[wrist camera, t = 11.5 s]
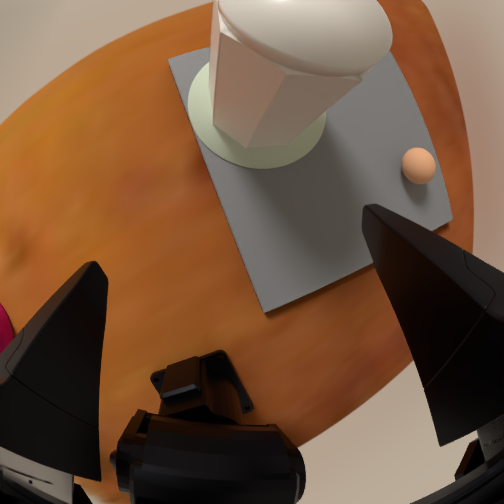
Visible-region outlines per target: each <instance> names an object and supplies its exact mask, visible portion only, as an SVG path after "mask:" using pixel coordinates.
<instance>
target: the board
mask: <svg viewBox="0 0 504 504" xmlns="http://www.w3.org/2000/svg"><path fill="white" fill-rule="evenodd" d="M209 61H210V47H207V48H203V49H200V50H196V51H193V52H189V53H186V54H183V55H180V56H177V57H174V58H171V59H168V63H169V67H170V70H171V72H172V75H173V78H174V81H175V83H176V86H177V89H178V92H179V94H180V97H181V100H182V102H183V105H184V108H185V111H186V113H187V116H188V119H189V121H190V124H191V127H192V129H193V132H194V135H195V137H196V140H197V143H198V146H199V148H200V151H201V154H202V156H203V159H204V161H205V164H206V167H207V169H208V172H209V175H210V177H211V180H212V183H213V185H214V188H215V190H216V193H217V196H218V198H219V201H220V204H221V206H222V209H223V211H224V214H225V217H226V219H227V222H228V224H229V227H230V229H231V232H232V235H233V237H234V240H235V242H236V245H237V248H238V250H239V253H240V255H241V258H242V260H243V263H244V265H245V268H246V271H247V273H248V276H249V278H250V281H251V283H252V286H253V288H254V291H255V293H256V296H257V298H258V301H259V303H260V306H261V308H262V310H263V312H264V313H265V312H268V311H270V310H272V309H275V308H277V307H279V306H282V305H284V304H286V303H289V302H291V301H293V300H295V299H298V298H300V297H302V296H304V295H307V294H309V293H311V292H313V291H315V290H318V289H320V288H322V287H324V286H326V285H328V284H330V283H333V282H335V281H337V280H339V279H341V278H343V277H345V276H347V275H349V274H351V273H353V272H355V271H357V270H359V269H361V268H363V267H365V266H367V265H369V264H371V263H373V260H372V257H371V255H370V252H369V249H368V246H367V244H366V241H365V239H364V236H363V233H362V211H363V207H364V205H367V204H373V203H376V204H378V205H381V206H383V207H385V208H387V209H389V210H391V211H393V212H395V213H397V214H399V215H401V216H403V217H405V218H407V219H409V220H411V221H413V222H415V223H417V224H419V225H421V226H423V227H425V228H427V229H428V230H430V231H433V230H435V229H437V228H438V227H440V226H442V225H444V224H445V223H447V222H449V221H450V220H452V219H453V217H452V212H451V207H450V203H449V199H448V195H447V191H446V187H445V183H444V179H443V176H442V172H441V169H440V165H439V162H438V159H437V156H436V153H435V150H434V147H433V144H432V141H431V138H430V135H429V133H428V130H427V127H426V125H425V122H424V120H423V117H422V115H421V112H420V110H419V108H418V105H417V103H416V101H415V99H414V96H413V94H412V92H411V90H410V88H409V86H408V84H407V82H406V80H405V78H404V76H403V74H402V72H401V70H400V68H399V66H398V64H397V63H396V61H395V59H394V57H393V55H392V54H391V52H390V50H389V52H388V53H387V55H386V56H384V57H383V58H382V59H381V60H380V61H379V62H378V63H376V64H375V65H374V66H373V67H372V68H371V70H370V71H369V72H368V73H367V75H366V76H365V77H364V78H363V79H362V82H360V83H359V84H358V85H357V86H355V87H354V88H353V89H352V90H350V91H349V92H348V93H347V94H346V95H344V96H343V97H342V98H341V99H340V100H338V101H337V102H336V103H335V104H334V105H332V106H331V107H330V108H329V109H328V110H326V111H325V112H324V113H323V114H322V115H321V116H319V117H318V118H317V119H316V120H315V121H314V122H313V123H311V124H310V125H309V126H308V127H307V128H306V129H305V130H303V131H302V132H301V133H300V134H299V135H298V136H297V137H296V138H294V139H293V140H292V141H291V142H290V143H289V144H288V145H281V146H266V147H253V148H245V147H244V146H242V145H241V144H240V143H238V142H237V141H236V140H234V139H233V138H232V137H230V136H229V135H227V134H226V133H225V132H223V131H222V130H220V129H219V128H218V127H216V126H215V125H213V124H212V113H211V104H210V95H209ZM412 148H423V149H425V150H427V151H428V152H429V153H430V154H431V155H432V157H433V158H434V161H435V164H436V171H435V175H434V177H433V178H432V179H431V180H430V181H429V182H428V183H425V184H415V183H413V182H411V181H410V180H408V179H407V178H406V176H405V175H404V173H403V170H402V165H401V163H402V158H403V156H404V154H405V153H406V152H407V151H408V150H410V149H412Z"/></svg>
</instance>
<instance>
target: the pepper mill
mask: <svg viewBox="0 0 504 504" xmlns="http://www.w3.org/2000/svg"><path fill="white" fill-rule="evenodd" d="M12 340H13V332H12V327H11V324H10V321H9V318H8V316H7V314H6V312H5V310H4V308H3V307H2V306H1V304H0V354H1V353H2V352H3V351H4V350H5V348H6V347H7V346H8V345H9V344H10V343H11V341H12Z"/></svg>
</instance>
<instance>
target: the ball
mask: <svg viewBox="0 0 504 504" xmlns="http://www.w3.org/2000/svg"><path fill="white" fill-rule="evenodd" d="M401 165H402V170H403V173H404V175H405V176H406V178H407V179H408V180H410V181H411V182H413V183H415V184H425V183H428V182H429V181H430V180H431V179H432V178H433V177H434V175H435V171H436V164H435V161H434V158H433V157H432V155H431V154H430V153H429V152H428V151H427V150H425V149H423V148H412V149H410V150H408V151H407V152H406V153H405V154H404V156H403V158H402V163H401Z"/></svg>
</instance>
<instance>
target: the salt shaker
mask: <svg viewBox="0 0 504 504" xmlns="http://www.w3.org/2000/svg"><path fill="white" fill-rule="evenodd" d="M391 45H392V29H391V25H390V22H389V20H388V17H387V15H386V13H385V12H384V10H383V8H382V7H381V6H380V4H379V3H378V2H377V0H213V9H212V23H211V40H210V61H209V95H210V104H211V113H212V124H213V125H215V126H216V127H218V128H219V129H220V130H222V131H223V132H225V133H226V134H227V135H229V136H230V137H232V138H233V139H234V140H236V141H237V142H238V143H240V144H241V145H242V146H244V147H245V148H253V147H266V146H281V145H288V144H289V143H290V142H291V141H292V140H293V139H294V138H296V137H297V136H298V135H299V134H300V133H301V132H302V131H303V130H305V129H306V128H307V127H308V126H309V125H310V124H311V123H313V122H314V121H315V120H316V119H317V118H318V117H319V116H321V115H322V114H323V113H324V112H325V111H326V110H328V109H329V108H330V107H331V106H332V105H334V104H335V103H336V102H337V101H338V100H340V99H341V98H342V97H343V96H344V95H346V94H347V93H348V92H349V91H350V90H352V89H353V88H354V87H355V86H357V85H358V84H359V83H360V82H362V79H363V78H364V77H365V76H366V75H367V73H368V72H369V71H370V70H371V68H372V67H373V66H374V65H375V64H376V63H378V62H379V61H380V60H381V59H382V58H383V57H384V56H386V55H387V53H388V52H389V50H390V48H391Z"/></svg>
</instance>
